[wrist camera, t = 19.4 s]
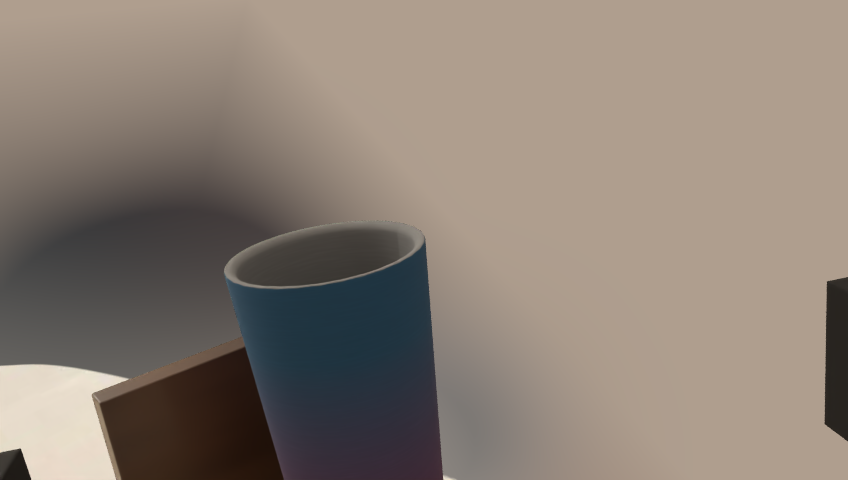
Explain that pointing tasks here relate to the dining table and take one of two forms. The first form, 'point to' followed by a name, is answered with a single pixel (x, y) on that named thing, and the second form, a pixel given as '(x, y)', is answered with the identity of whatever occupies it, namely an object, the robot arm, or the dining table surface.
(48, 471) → the dining table surface
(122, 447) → the open wooden box
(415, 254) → the cup
